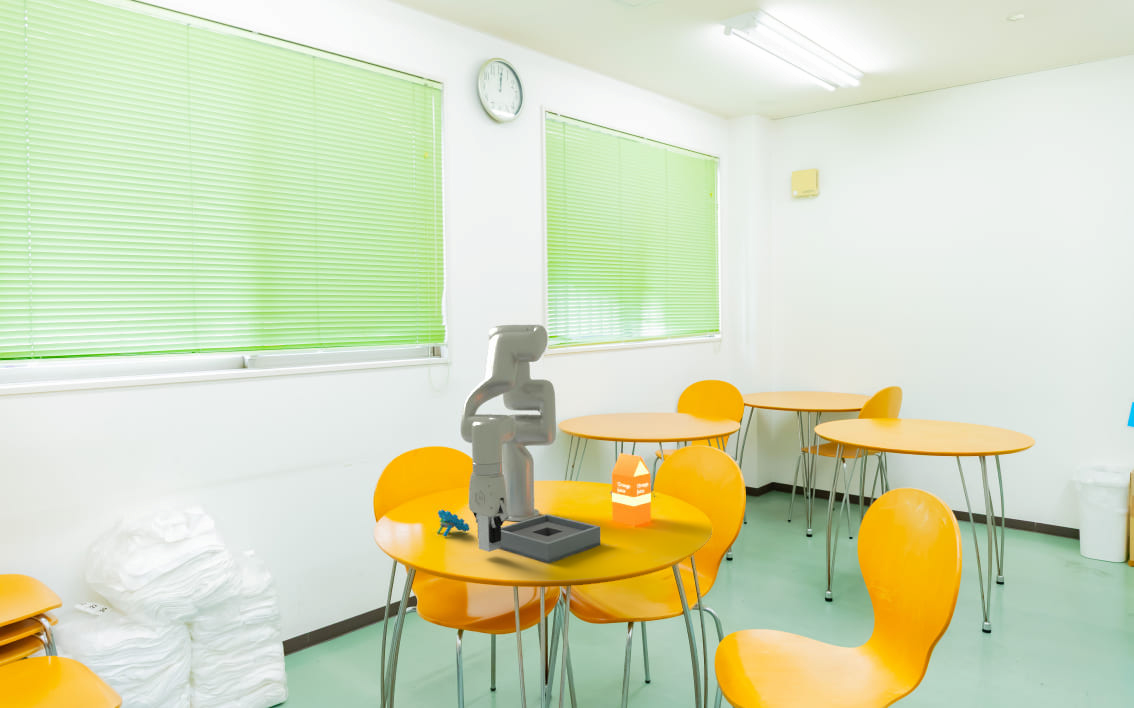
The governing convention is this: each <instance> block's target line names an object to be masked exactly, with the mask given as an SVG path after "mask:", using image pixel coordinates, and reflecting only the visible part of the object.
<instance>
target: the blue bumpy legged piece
mask: <svg viewBox="0 0 1134 708" xmlns="http://www.w3.org/2000/svg"><path fill="white" fill-rule="evenodd" d="M437 514H438V518H439V519H440V520H439V523H440V524H439V525H440V527H439V528H438V530H437V532H436V533H437V534H439V535H440V533H441V532H442V531H443V529H444V528H445V531H444V533H443V534H442V536H444V537H446V538H447V536H448V535H449V533H450V532H451V530H452V529H453V528H456V530H458V531H463V532H464V533H466V532H468V531H470V529H471V528H470V525H469V524H468V523H466V522H465V520H464V519H463V518H459V515H458V514H455V513H454V514H452V513H451V512H450V511H449V510H446V511H445V510H444V509H441V510H438V512H437Z"/></svg>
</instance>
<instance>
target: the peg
mask: <svg viewBox="0 0 1134 708" xmlns="http://www.w3.org/2000/svg"><path fill="white" fill-rule="evenodd" d="M496 520H497V517H495V521H496ZM490 527H492V526H491V519H490V517H489V516H485V515H481V514H478V523H477V539H478V549H479V550H482V551H485V552H488V553H490V552H494V551H496V550H500V549H499V548H501V541H498V542H495V543H491V542H490Z"/></svg>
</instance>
